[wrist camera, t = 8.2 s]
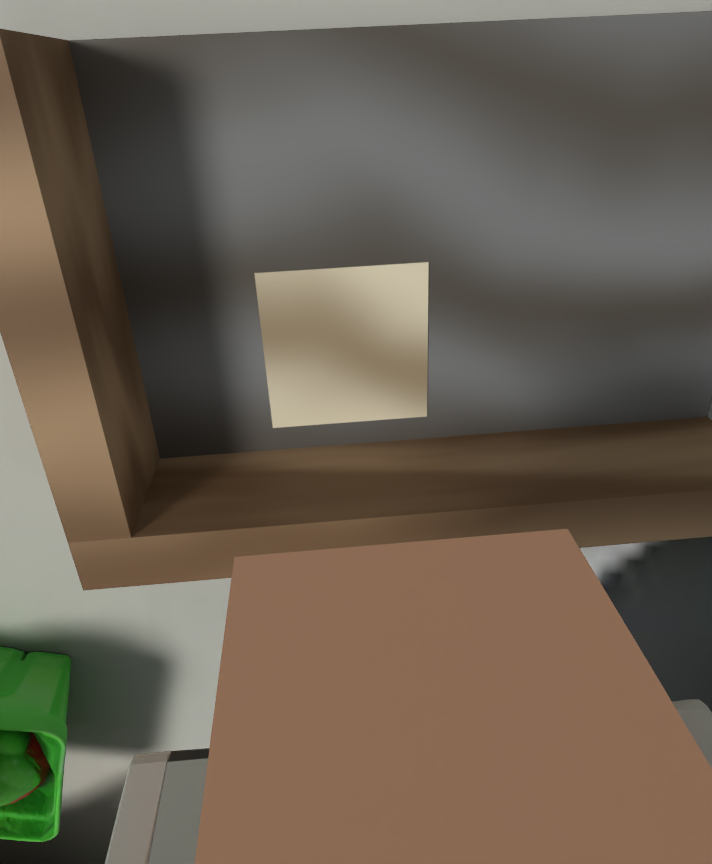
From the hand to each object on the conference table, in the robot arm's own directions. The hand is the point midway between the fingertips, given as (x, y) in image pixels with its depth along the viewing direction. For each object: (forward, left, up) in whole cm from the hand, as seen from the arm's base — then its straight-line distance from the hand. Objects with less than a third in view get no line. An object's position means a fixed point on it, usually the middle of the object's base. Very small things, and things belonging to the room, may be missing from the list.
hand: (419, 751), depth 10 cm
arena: (+2, -3, -17) cm, 17 cm away
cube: (0, 0, -2) cm, 2 cm away
